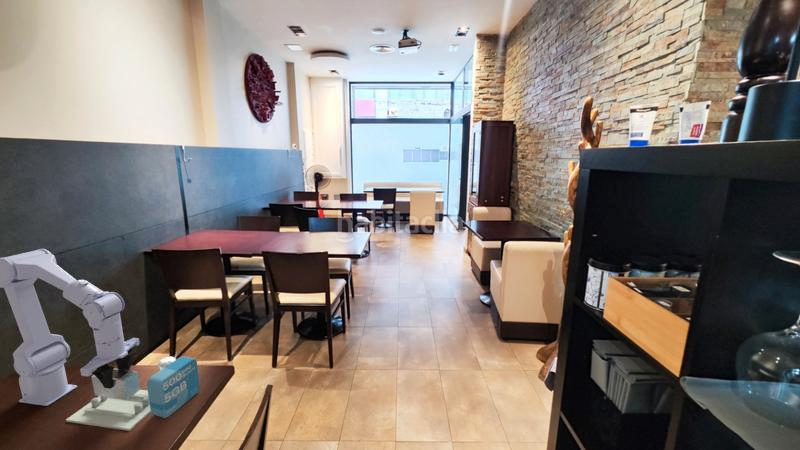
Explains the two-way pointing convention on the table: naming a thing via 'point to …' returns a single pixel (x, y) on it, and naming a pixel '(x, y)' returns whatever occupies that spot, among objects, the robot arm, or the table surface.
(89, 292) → the robot arm
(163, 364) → the milkshake
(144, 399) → the dock tray
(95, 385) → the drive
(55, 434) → the table surface
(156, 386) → the data package
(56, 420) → the table surface
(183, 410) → the table surface
